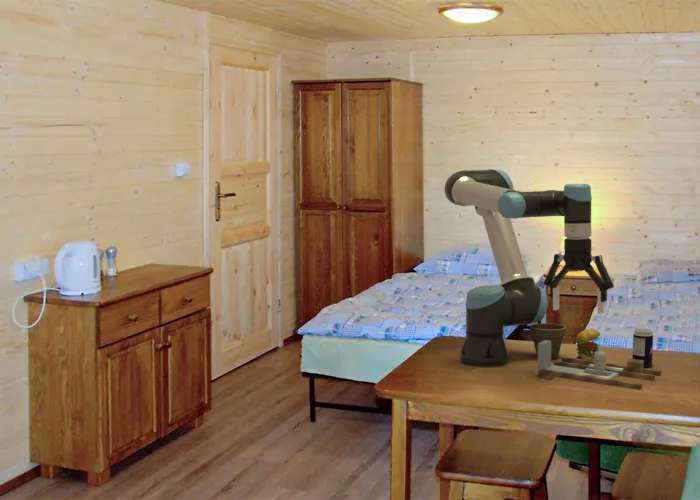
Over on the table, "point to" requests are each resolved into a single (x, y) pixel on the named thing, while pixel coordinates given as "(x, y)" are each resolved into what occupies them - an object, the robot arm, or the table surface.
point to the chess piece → (599, 363)
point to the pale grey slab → (545, 363)
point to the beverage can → (643, 346)
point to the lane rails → (583, 364)
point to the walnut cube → (635, 365)
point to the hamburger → (587, 343)
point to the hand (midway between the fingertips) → (578, 311)
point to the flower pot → (548, 336)
